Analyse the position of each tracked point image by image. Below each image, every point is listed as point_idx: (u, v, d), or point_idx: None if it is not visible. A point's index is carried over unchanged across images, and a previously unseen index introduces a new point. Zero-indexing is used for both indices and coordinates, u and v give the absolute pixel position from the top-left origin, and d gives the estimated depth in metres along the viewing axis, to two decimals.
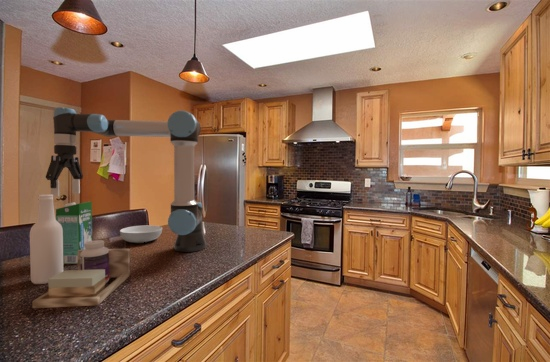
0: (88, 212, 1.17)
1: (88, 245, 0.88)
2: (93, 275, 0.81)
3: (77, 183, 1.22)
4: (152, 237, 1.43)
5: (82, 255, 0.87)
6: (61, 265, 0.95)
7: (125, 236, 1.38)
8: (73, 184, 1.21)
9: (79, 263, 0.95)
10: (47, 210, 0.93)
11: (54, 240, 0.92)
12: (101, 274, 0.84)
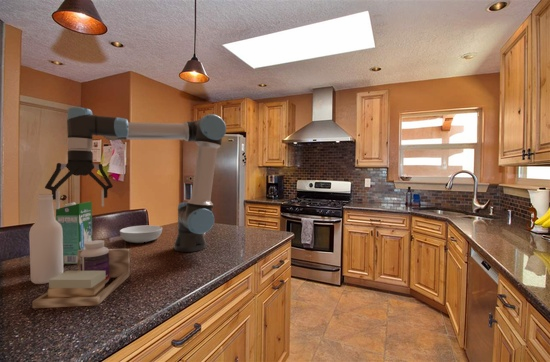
0: (88, 212, 1.17)
1: (88, 245, 0.88)
2: (92, 276, 0.80)
3: None
4: (152, 237, 1.43)
5: (82, 255, 0.87)
6: (61, 265, 0.95)
7: (125, 236, 1.38)
8: None
9: (79, 263, 0.95)
10: (47, 210, 0.92)
11: (53, 240, 0.92)
12: (101, 275, 0.83)
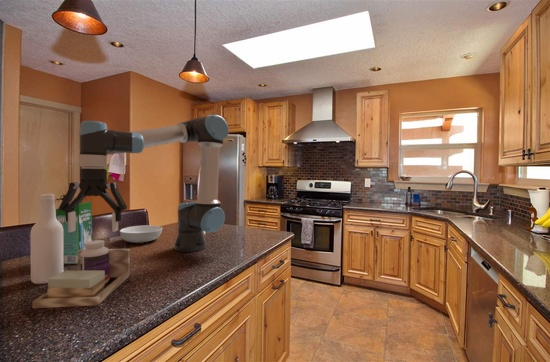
0: (88, 212, 1.17)
1: (88, 245, 0.88)
2: (91, 276, 0.80)
3: None
4: (152, 237, 1.43)
5: (82, 255, 0.87)
6: (61, 265, 0.95)
7: (125, 236, 1.38)
8: None
9: (79, 263, 0.95)
10: (48, 210, 0.93)
11: (54, 239, 0.93)
12: (100, 275, 0.83)
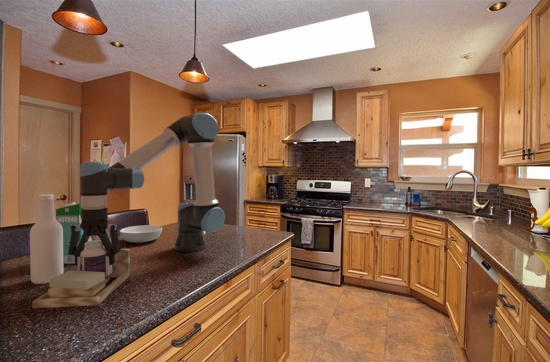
0: None
1: (88, 245, 0.88)
2: (89, 278, 0.79)
3: None
4: (152, 237, 1.43)
5: (82, 255, 0.87)
6: (61, 265, 0.95)
7: (125, 236, 1.38)
8: None
9: None
10: (48, 210, 0.93)
11: (54, 240, 0.92)
12: (99, 277, 0.82)
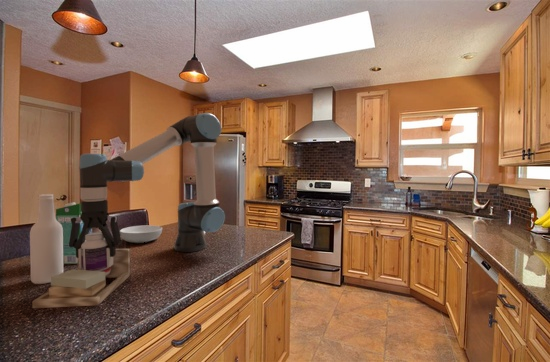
0: None
1: (89, 237, 0.88)
2: (89, 277, 0.79)
3: None
4: (152, 237, 1.43)
5: (83, 247, 0.87)
6: (61, 265, 0.95)
7: (125, 236, 1.38)
8: None
9: None
10: (48, 210, 0.93)
11: (54, 239, 0.93)
12: (99, 276, 0.82)
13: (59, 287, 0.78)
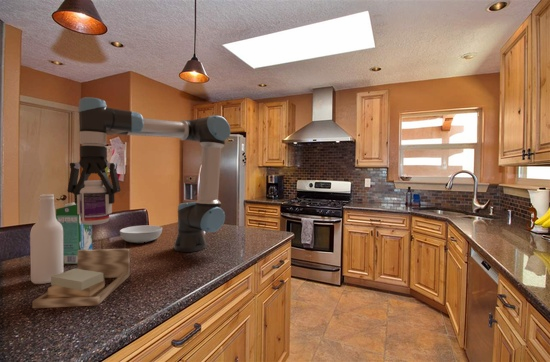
0: None
1: (88, 182, 0.87)
2: (86, 278, 0.79)
3: None
4: (152, 237, 1.43)
5: (82, 191, 0.87)
6: (61, 265, 0.95)
7: (125, 236, 1.38)
8: None
9: (79, 263, 0.95)
10: (48, 210, 0.93)
11: (54, 239, 0.93)
12: (96, 277, 0.81)
13: (58, 287, 0.78)
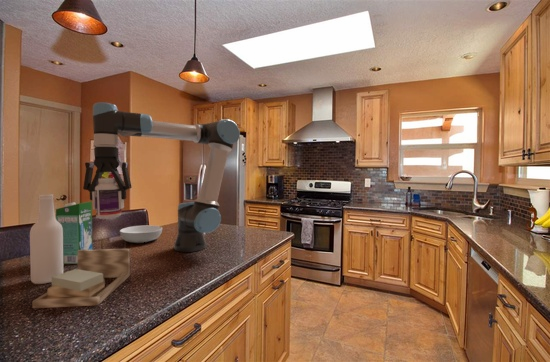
0: (88, 212, 1.17)
1: (102, 180, 0.96)
2: (85, 279, 0.78)
3: None
4: (152, 237, 1.43)
5: (97, 188, 0.95)
6: (61, 264, 0.95)
7: (125, 236, 1.38)
8: None
9: (79, 263, 0.95)
10: (48, 210, 0.93)
11: (54, 239, 0.93)
12: (96, 278, 0.81)
13: (57, 288, 0.78)
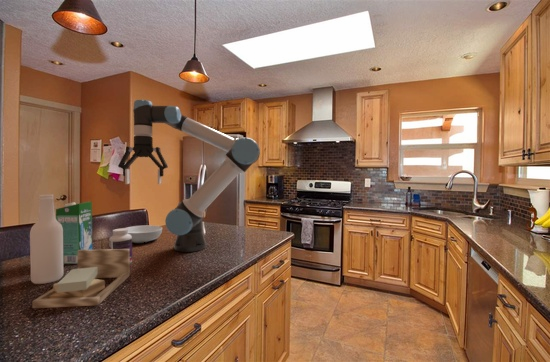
0: (88, 212, 1.17)
1: (116, 232, 1.07)
2: (66, 282, 0.77)
3: None
4: (152, 237, 1.43)
5: (111, 240, 1.07)
6: (61, 265, 0.95)
7: None
8: None
9: (79, 263, 0.95)
10: (48, 210, 0.93)
11: (54, 239, 0.93)
12: (77, 284, 0.77)
13: None
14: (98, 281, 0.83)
